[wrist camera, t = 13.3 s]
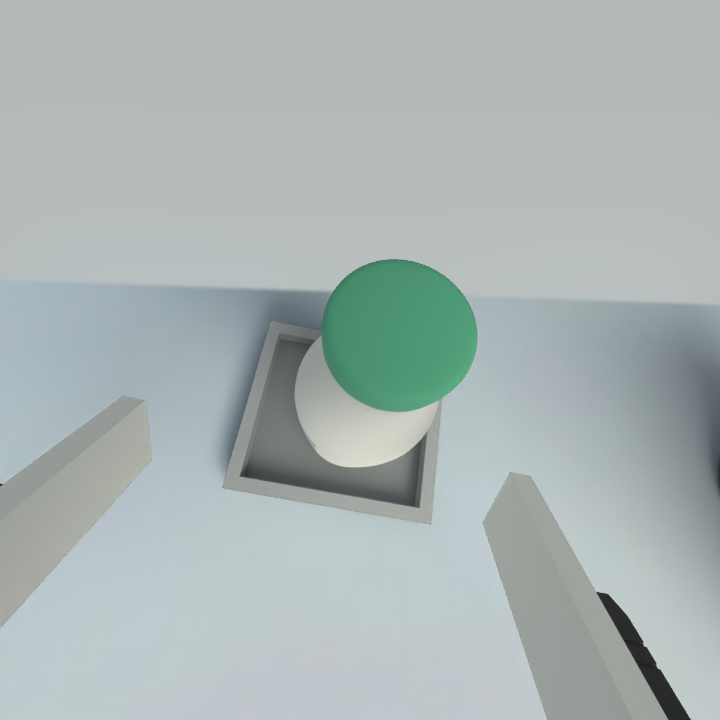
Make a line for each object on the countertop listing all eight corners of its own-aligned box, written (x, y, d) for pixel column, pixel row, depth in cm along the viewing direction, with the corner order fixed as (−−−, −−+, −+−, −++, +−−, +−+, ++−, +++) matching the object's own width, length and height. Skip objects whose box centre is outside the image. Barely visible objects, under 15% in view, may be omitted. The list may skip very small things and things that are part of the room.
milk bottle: (407, 401, 29) (563, 278, 10) (370, 484, 26) (487, 526, 8) (331, 363, 29) (344, 175, 10) (287, 440, 27) (201, 378, 8)
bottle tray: (436, 363, 32) (445, 355, 29) (421, 519, 27) (430, 524, 25) (274, 331, 31) (270, 320, 28) (231, 486, 26) (222, 488, 24)
